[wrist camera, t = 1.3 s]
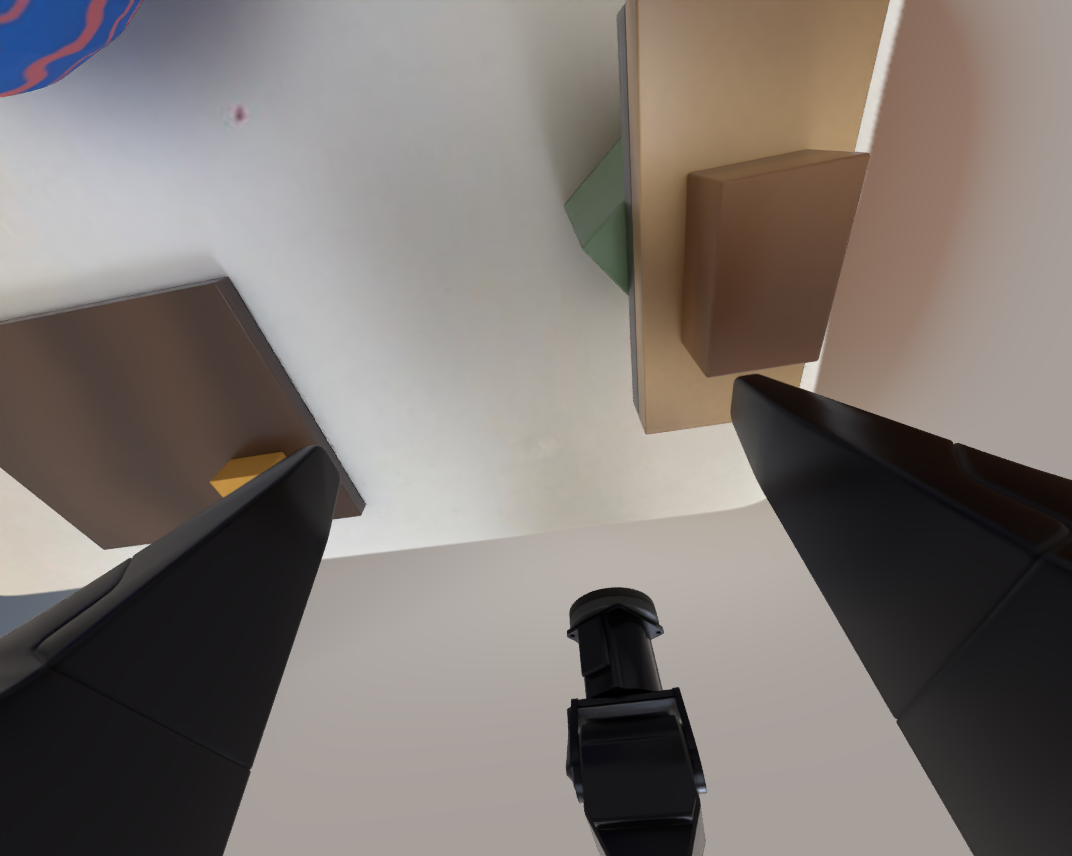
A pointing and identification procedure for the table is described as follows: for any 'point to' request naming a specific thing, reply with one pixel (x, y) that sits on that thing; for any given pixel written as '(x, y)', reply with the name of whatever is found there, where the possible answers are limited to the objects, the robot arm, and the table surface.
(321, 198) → the table surface
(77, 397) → the board
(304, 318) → the table surface
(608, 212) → the sage green rectangular block
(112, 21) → the ceramic pot
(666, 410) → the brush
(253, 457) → the mustard orange square block
